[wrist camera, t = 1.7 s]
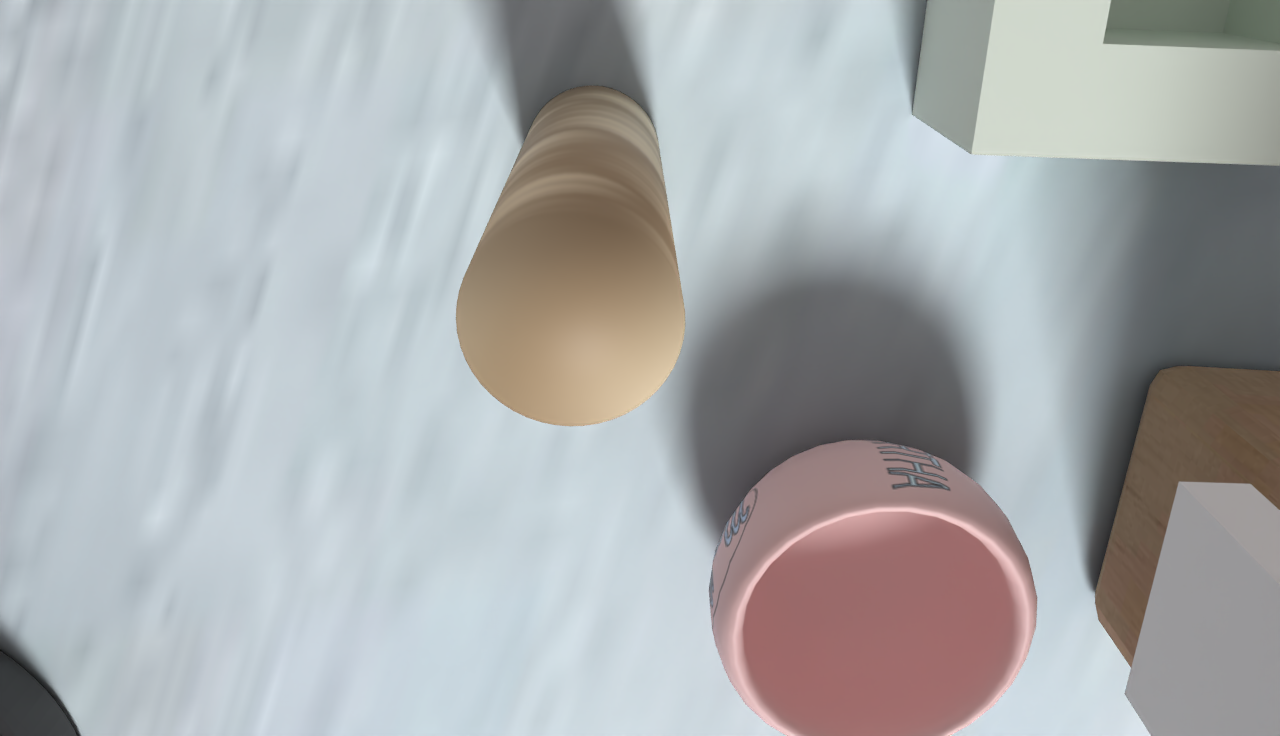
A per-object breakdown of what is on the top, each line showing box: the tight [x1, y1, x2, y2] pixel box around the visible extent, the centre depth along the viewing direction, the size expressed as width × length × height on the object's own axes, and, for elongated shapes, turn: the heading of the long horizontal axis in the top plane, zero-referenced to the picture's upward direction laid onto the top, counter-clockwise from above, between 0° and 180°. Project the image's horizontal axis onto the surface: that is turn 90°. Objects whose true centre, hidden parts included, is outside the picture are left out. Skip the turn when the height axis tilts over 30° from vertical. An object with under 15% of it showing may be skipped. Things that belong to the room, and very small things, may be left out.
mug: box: [709, 440, 1037, 736], centre depth 36 cm, size 12×10×6 cm
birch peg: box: [456, 86, 685, 426], centre depth 26 cm, size 4×4×15 cm
